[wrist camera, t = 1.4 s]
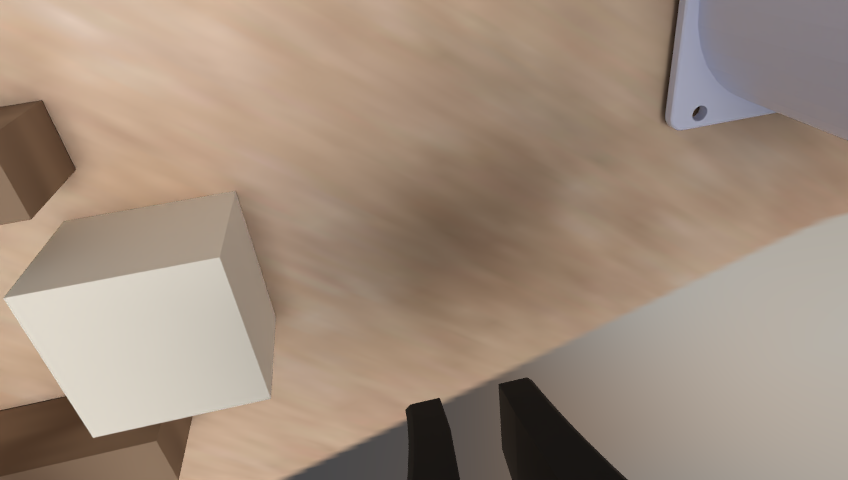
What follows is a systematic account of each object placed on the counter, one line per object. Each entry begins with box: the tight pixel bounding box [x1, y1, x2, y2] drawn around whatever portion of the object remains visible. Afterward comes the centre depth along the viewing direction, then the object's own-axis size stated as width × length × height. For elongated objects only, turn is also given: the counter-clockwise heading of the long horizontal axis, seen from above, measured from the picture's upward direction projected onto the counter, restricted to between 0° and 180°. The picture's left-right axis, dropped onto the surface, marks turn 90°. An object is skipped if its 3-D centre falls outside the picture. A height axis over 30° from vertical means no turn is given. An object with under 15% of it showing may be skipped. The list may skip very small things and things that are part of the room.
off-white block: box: [3, 191, 276, 438], centre depth 16 cm, size 5×5×4 cm
